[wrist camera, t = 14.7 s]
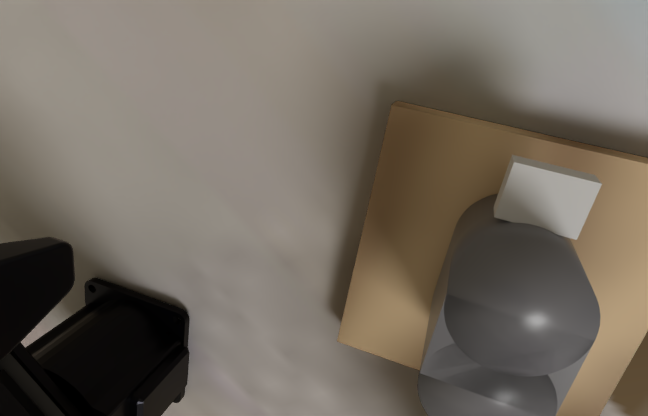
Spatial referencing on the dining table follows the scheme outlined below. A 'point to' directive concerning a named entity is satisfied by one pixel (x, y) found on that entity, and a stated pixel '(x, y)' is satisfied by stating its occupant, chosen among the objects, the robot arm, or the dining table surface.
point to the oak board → (447, 207)
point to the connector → (512, 299)
